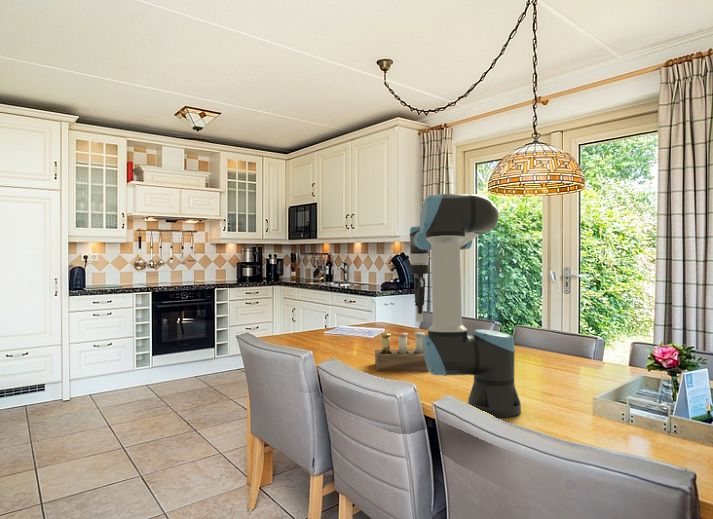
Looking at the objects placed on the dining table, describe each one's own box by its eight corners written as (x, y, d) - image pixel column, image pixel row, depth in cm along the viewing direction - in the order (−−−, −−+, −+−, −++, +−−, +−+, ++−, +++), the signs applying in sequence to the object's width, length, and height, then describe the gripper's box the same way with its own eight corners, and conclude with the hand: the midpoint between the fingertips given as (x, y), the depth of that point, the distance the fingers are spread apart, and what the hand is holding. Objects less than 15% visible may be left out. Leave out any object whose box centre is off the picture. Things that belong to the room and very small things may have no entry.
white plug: (408, 355, 185) (408, 334, 185) (398, 356, 185) (398, 334, 185) (407, 353, 189) (407, 332, 189) (397, 353, 189) (397, 332, 189)
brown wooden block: (432, 370, 182) (432, 355, 182) (377, 371, 181) (377, 356, 181) (426, 362, 194) (426, 348, 194) (375, 363, 193) (375, 349, 193)
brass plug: (391, 356, 185) (391, 334, 185) (381, 356, 185) (381, 334, 185) (390, 353, 189) (390, 332, 189) (380, 354, 189) (380, 332, 189)
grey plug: (425, 355, 185) (425, 334, 185) (415, 355, 185) (415, 334, 185) (423, 353, 190) (423, 332, 189) (413, 353, 189) (413, 332, 189)
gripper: (431, 264, 181) (431, 323, 181) (425, 263, 194) (425, 318, 194) (412, 264, 180) (413, 324, 181) (407, 263, 193) (408, 319, 194)
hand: (419, 321), depth 187 cm, fingers closed
